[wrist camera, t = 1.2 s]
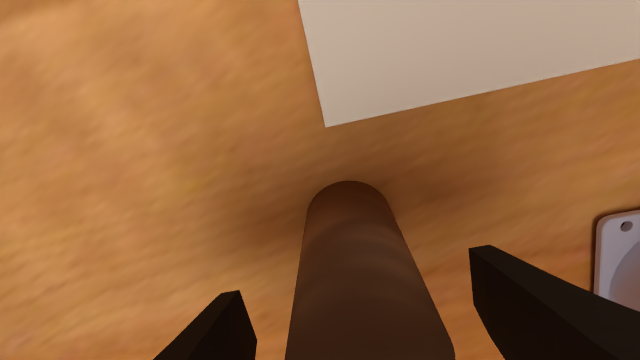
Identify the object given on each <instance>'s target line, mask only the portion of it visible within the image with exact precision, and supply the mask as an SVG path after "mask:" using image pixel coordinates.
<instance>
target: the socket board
mask: <svg viewBox="0 0 640 360" xmlns="http://www.w3.org/2000/svg"><path fill="white" fill-rule="evenodd" d="M298 3H299V8H300V12H301V17H302V21H303V26H304V31H305V35H306V40H307V44H308V49H309V54H310V58H311V63H312V67H313V72H314V77H315V81H316V86H317V90H318V95H319V99H320V104H321V109H322V113H323V118H324V122H325V127H330V126H335V125H339V124H344V123H348V122H353V121H357V120H362V119H367V118H371V117H376V116H380V115H385V114H389V113H394V112H398V111H403V110H408V109H412V108H417V107H421V106H426V105H430V104H435V103H439V102H444V101H448V100H453V99H458V98H462V97H467V96H471V95H476V94H480V93H485V92H489V91H494V90H499V89H503V88H508V87H512V86H517V85H521V84H526V83H530V82H535V81H540V80H544V79H549V78H553V77H558V76H562V75H567V74H571V73H576V72H581V71H585V70H590V69H594V68H599V67H603V66H608V65H612V64H617V63H622V62H626V61H631V60H635V59H640V0H298Z"/></svg>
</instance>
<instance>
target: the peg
mask: <svg viewBox="0 0 640 360" xmlns="http://www.w3.org/2000/svg"><path fill="white" fill-rule="evenodd" d="M285 360H455V353H454V348H453V345H452V342H451V339H450V337H449V335H448V333H447V331H446V328H445V326H444V324H443V322H442V320H441V318H440V315H439V313H438V311H437V309H436V307H435V305H434V302H433V300H432V298H431V296H430V294H429V292H428V289H427V287H426V285H425V283H424V281H423V279H422V277H421V274H420V272H419V270H418V268H417V266H416V264H415V261H414V259H413V257H412V255H411V253H410V251H409V248H408V246H407V244H406V242H405V240H404V238H403V235H402V233H401V231H400V229H399V227H398V225H397V222H396V220H395V218H394V216H393V214H392V212H391V209H390V207H389V205H388V203H387V201H386V200H385V198H384V197H383V196H382V194H381V193H380V192H378V191H377V190H376V189H375V188H373V187H371V186H369V185H367V184H365V183H361V182H357V181H342V182H337V183H334V184H332V185H329V186H327V187H326V188H324V189H323V190H321V191H320V192H319V193H318V194H317V195H316V196H315V197H314V199H313V200H312V202H311V203H310V205H309V208H308V211H307V216H306V223H305V229H304V236H303V242H302V249H301V255H300V262H299V268H298V275H297V281H296V288H295V295H294V301H293V308H292V314H291V321H290V327H289V334H288V340H287V347H286V354H285Z"/></svg>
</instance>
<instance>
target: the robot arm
mask: <svg viewBox="0 0 640 360" xmlns="http://www.w3.org/2000/svg"><path fill="white" fill-rule="evenodd" d="M623 222H625V223H624V225H623V226H622V227H621V224H622V223H623ZM469 259H470V270H471V281H472V291H473V302H474V306H475V308H476V310H477V312H478V314H479V316H480V318H481V320H482V322H483V324H484V326H485V328H486V330H487V332H488V334H489V335H490V337H491V339H492V340H493V342H494V343H495V345H496V346H497V348H498V349H499V351H500V352H501V354H502V355H503V357H504V358H505V360H640V210H635V211H629V212H624V213H618V214H612V215H608V216H605V217H603V218H602V219H600V221H599V222H598V224H597V229H596V252H595V275H594V293H592V292H589V291H587V290H584V289H582V288H580V287H577V286H575V285H573V284H571V283H569V282H566V281H564V280H562V279H560V278H558V277H555V276H553V275H551V274H549V273H547V272H545V271H543V270H541V269H539V268H537V267H535V266H533V265H530V264H528V263H526V262H524V261H522V260H520V259H518V258H516V257H514V256H512V255H510V254H508V253H506V252H504V251H502V250H500V249H498V248H496V247H494V246H491V245H485V246H479V247H474V248H469ZM256 346H257V338H256V336H255V333H254V330H253V327H252V324H251V322H250V319H249V316H248V313H247V310H246V307H245V305H244V302H243V299H242V296H241V293H240V291H239V290H236V291H231V292H225V293H221V294H220V295H219V296H218V297H216V298H215V299H214V300H213V301H212V302H211V303H210V304H209V305H208V306H207V307H206V308H205V309H204V310H203V311H202V312H201V313H200V314H199V315H198V316H197V317H196V318H195V319H194V320H193V321H192V322H191V323H190V324H189V325H188V326H187V327H186V328H185V329H184V330H183V331H182V332H181V333H180V334H179V335H178V336H177V337H176V338H175V339H174V340H173V341H172V342H171V343H170V344H169V345H168V346H167V347H166V348H165V349H164V350H163V351H162V352H160V353H159V354H158V355H157V356H156V357H155V358H154V359H153V360H255V355H256Z"/></svg>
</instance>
